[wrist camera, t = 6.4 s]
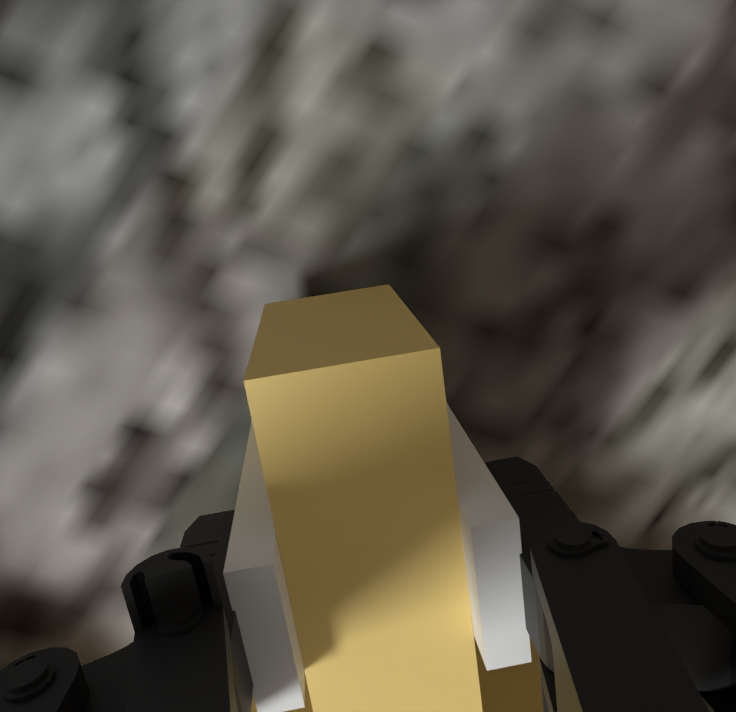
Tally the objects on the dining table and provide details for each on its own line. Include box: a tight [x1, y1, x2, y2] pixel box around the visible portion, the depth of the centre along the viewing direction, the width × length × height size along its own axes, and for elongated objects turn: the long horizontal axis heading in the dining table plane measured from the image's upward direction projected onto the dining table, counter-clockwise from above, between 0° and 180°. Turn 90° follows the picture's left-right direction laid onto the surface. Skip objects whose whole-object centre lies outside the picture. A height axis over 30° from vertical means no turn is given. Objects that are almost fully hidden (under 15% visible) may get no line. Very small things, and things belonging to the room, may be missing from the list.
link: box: [244, 284, 544, 712], centre depth 15 cm, size 19×9×6 cm, turn 8°
